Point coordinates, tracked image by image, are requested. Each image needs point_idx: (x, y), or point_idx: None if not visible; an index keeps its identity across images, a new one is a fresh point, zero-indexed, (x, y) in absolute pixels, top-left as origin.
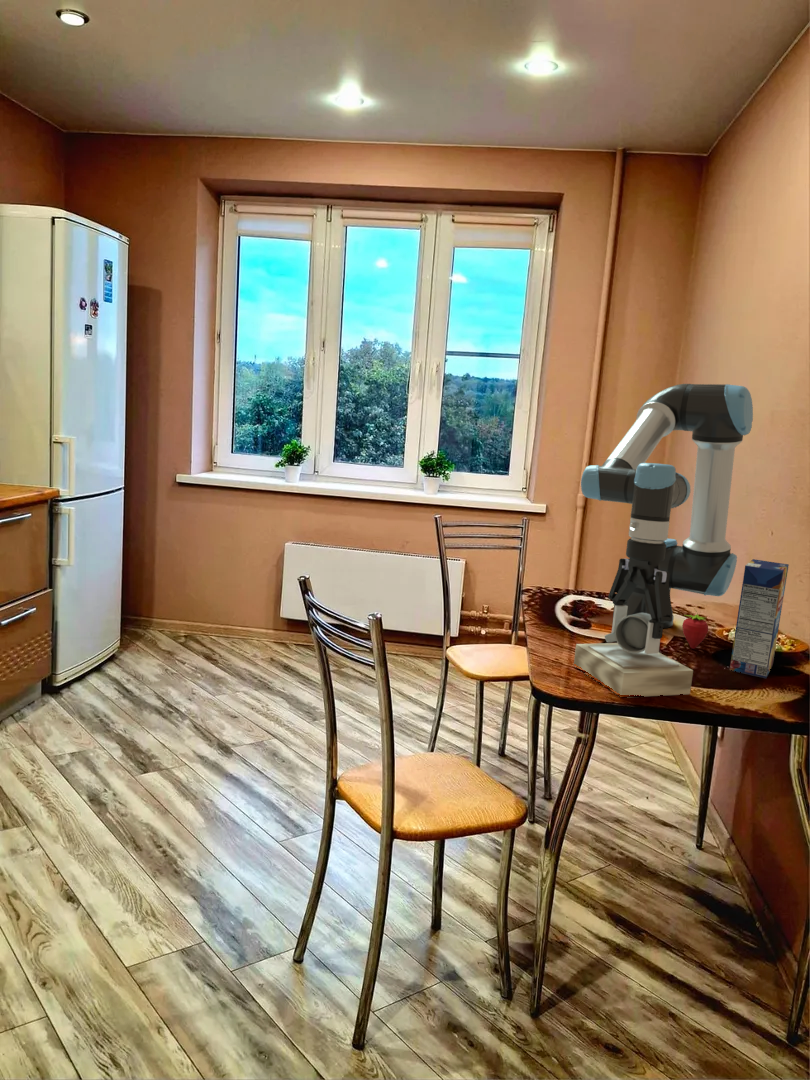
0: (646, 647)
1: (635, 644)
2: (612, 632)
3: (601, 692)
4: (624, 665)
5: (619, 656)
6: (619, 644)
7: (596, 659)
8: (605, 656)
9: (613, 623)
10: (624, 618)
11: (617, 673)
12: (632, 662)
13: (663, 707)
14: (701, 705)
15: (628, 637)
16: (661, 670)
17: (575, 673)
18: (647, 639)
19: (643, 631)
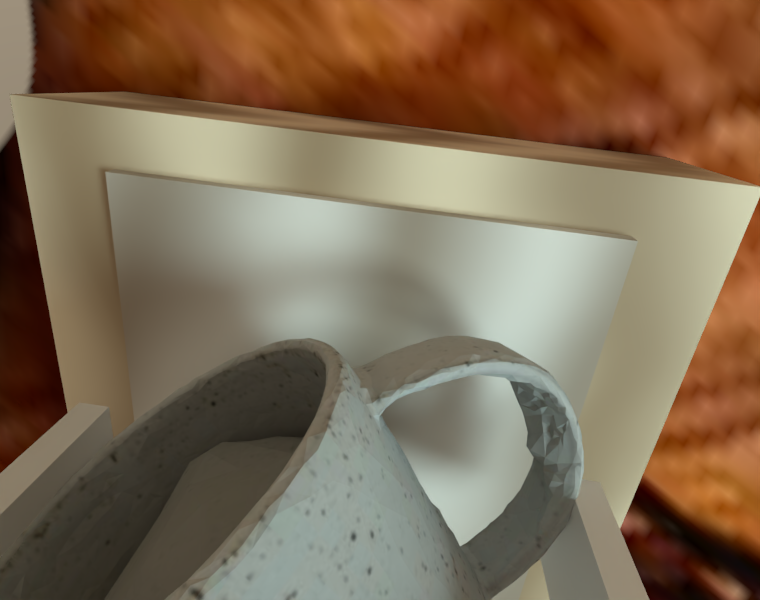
0: (58, 435)
1: (234, 447)
2: (593, 499)
3: (213, 23)
4: (127, 198)
5: (326, 308)
6: (300, 341)
7: (402, 139)
8: (361, 204)
9: (626, 581)
10: (173, 592)
11: (106, 102)
12: (192, 309)
13: (7, 235)
14: (42, 413)
15: (281, 459)
16: (81, 400)
17: (550, 75)
18: (3, 491)
19: (121, 582)
